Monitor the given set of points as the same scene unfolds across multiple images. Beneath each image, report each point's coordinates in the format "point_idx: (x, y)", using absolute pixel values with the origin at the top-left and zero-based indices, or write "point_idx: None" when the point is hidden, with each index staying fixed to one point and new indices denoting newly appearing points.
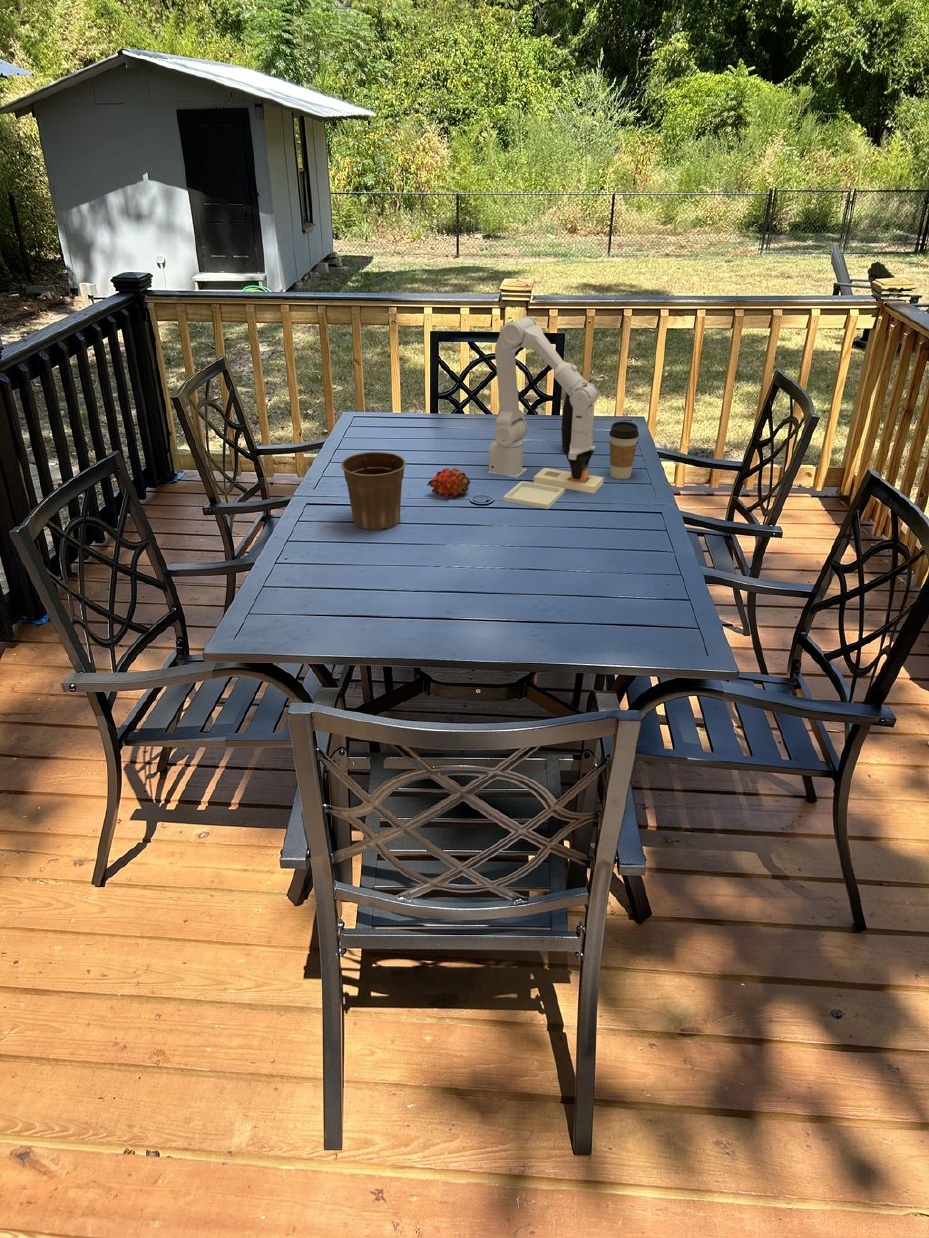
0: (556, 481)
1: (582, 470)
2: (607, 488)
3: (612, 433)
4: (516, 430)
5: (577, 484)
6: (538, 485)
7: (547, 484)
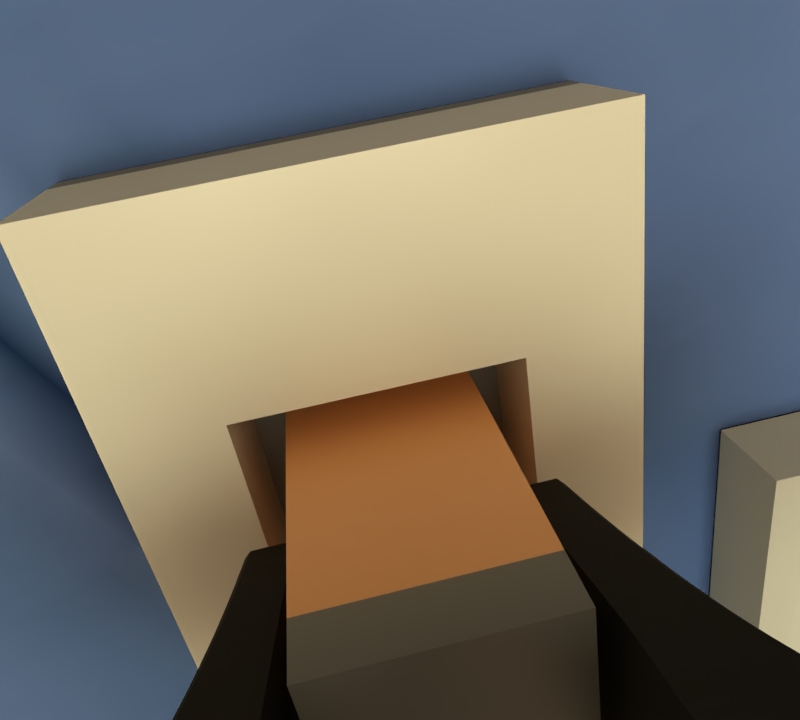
0: None
1: (606, 592)
2: (98, 37)
3: None
4: None
5: (637, 420)
6: None
7: None
